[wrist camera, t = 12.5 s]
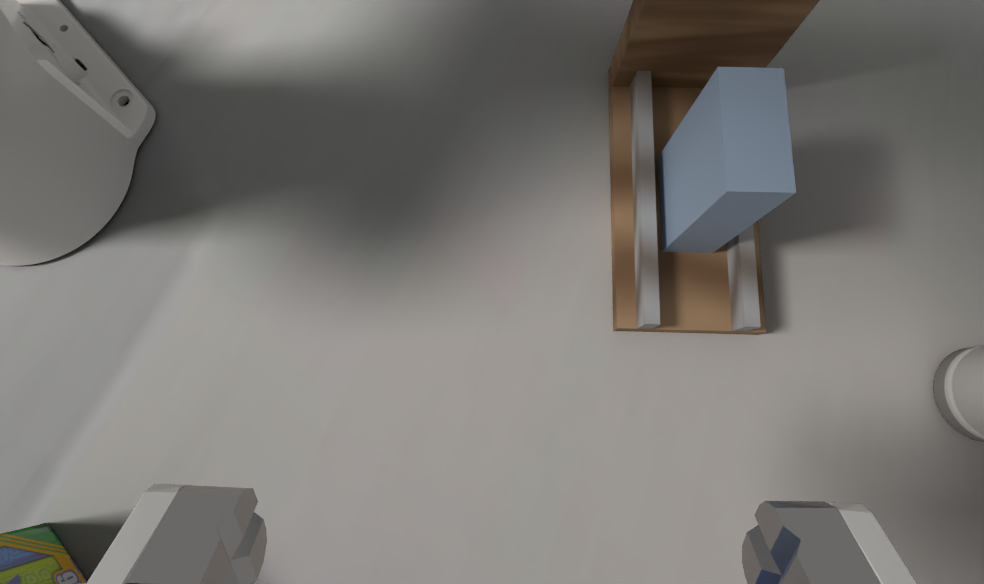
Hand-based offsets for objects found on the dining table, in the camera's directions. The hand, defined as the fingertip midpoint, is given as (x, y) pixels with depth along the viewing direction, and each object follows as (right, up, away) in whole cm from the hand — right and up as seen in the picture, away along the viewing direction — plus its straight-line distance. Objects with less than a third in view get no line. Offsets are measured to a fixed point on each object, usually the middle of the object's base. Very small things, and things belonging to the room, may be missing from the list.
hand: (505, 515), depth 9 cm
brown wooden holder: (+13, +11, +32) cm, 37 cm away
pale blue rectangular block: (+13, +10, +31) cm, 35 cm away
